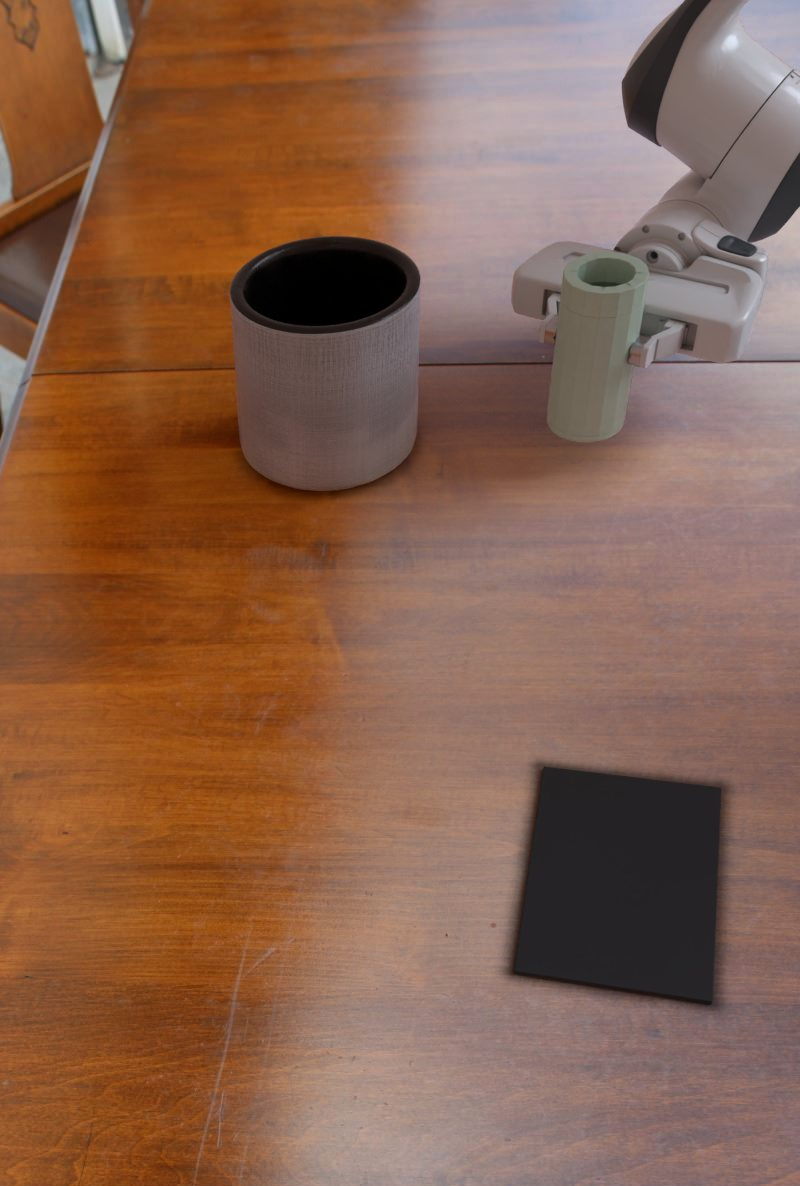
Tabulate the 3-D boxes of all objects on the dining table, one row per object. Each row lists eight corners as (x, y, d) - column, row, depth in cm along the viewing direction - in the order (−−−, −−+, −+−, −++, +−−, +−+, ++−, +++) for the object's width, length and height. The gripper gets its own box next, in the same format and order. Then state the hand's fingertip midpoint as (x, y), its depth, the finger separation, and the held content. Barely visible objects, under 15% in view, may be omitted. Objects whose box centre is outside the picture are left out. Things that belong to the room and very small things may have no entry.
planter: (309, 523, 115) (302, 356, 103) (207, 442, 124) (190, 279, 111) (453, 450, 119) (463, 282, 107) (345, 377, 128) (343, 213, 116)
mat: (543, 771, 95) (544, 766, 94) (719, 792, 92) (721, 787, 92) (512, 976, 85) (513, 970, 84) (710, 1007, 82) (712, 1001, 81)
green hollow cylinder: (639, 417, 113) (666, 267, 103) (591, 451, 111) (613, 301, 101) (579, 391, 116) (599, 243, 106) (531, 423, 114) (546, 275, 104)
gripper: (556, 208, 116) (479, 282, 110) (789, 255, 107) (720, 338, 101) (549, 278, 121) (474, 353, 114) (771, 329, 112) (704, 413, 106)
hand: (591, 347), depth 108 cm, fingers closed on green hollow cylinder, 6 cm apart
